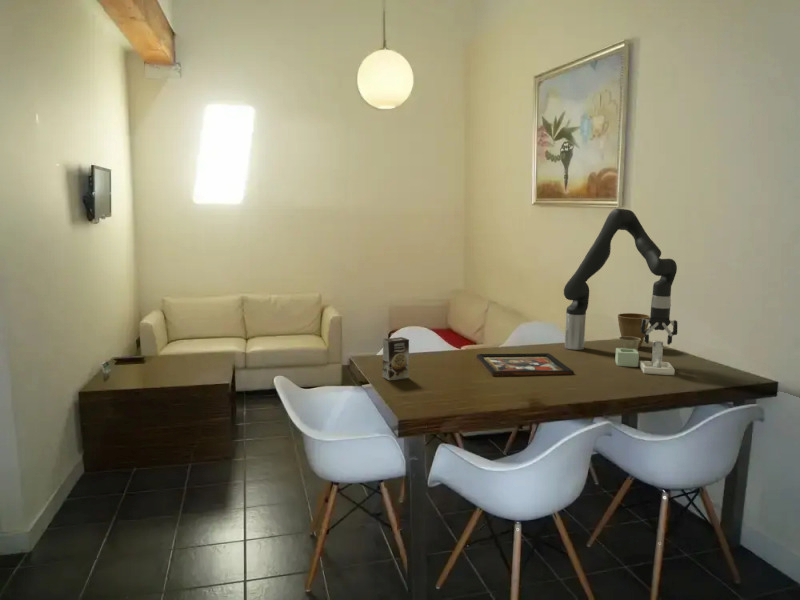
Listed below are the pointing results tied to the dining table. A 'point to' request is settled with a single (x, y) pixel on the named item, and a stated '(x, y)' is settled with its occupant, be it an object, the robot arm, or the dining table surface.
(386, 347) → the food box
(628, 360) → the block
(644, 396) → the dining table surface
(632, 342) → the flower pot
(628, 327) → the plant pot
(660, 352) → the pin
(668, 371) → the tray
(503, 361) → the framed painting
